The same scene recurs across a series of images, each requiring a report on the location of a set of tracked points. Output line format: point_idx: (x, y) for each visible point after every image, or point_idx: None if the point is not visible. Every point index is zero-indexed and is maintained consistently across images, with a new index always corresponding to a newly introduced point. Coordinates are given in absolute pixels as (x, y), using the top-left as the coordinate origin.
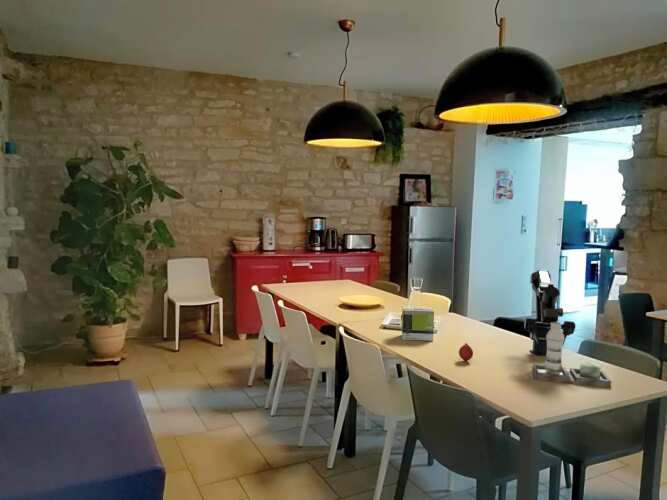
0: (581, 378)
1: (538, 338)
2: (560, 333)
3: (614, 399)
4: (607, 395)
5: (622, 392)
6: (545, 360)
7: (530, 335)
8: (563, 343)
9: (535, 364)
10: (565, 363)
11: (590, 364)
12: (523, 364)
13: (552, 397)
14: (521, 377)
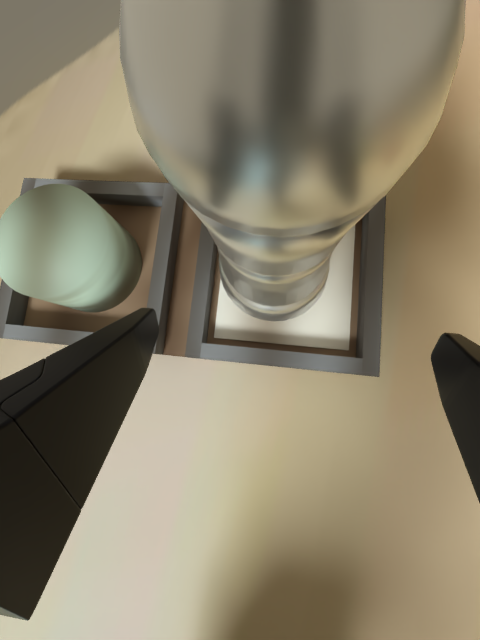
0: (153, 183)
1: (478, 362)
2: None
3: (94, 63)
4: (103, 98)
5: (27, 151)
6: (325, 274)
7: None
8: (139, 312)
9: (360, 371)
10: (126, 577)
11: (40, 257)
12: (404, 489)
13: None
14: (445, 224)
